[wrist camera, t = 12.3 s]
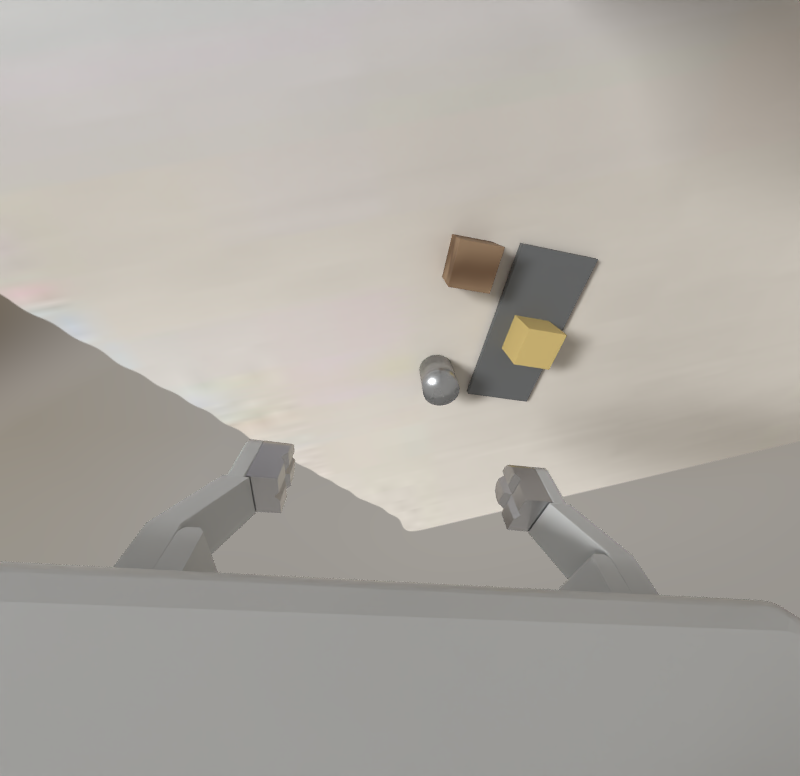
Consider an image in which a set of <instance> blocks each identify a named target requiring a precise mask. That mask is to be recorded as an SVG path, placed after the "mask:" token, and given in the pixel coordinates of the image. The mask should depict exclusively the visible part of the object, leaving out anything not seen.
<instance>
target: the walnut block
mask: <svg viewBox="0 0 800 776" xmlns="http://www.w3.org/2000/svg"><path fill="white" fill-rule="evenodd" d="M504 248H505V247H503V246H501V245H498V244H496V243H494V242H491V241H486V240H480V239H475V238H470V237H465V236H459V235H454V234H452V238H451V242H450V246H449V250H448V255H447V259H446V263H445V267H444V272H443V276H442V277H443V279H444V281H445V282H446V284H447V285H448V287H453V288H459V289H465V290H471V291H477V292H483V293H489V294H490V291H491V288H492V285H493V282H494V279H495V276H496V273H497V270H498V267H499V264H500V261H501V258H502V255H503V252H504Z"/></svg>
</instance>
